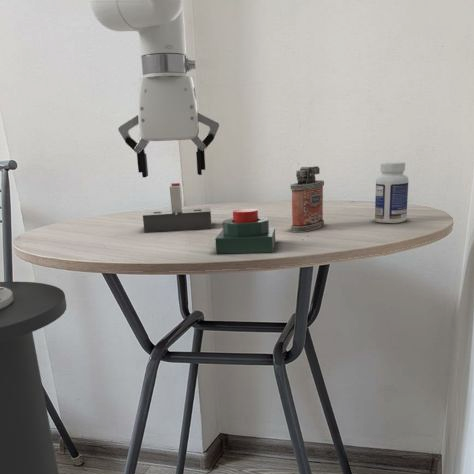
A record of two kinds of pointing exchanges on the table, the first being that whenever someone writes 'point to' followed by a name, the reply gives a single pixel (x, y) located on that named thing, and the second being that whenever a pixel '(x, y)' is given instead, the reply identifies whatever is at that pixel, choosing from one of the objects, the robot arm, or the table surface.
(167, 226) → the panel
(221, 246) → the green button base
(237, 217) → the stop button
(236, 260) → the table surface
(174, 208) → the light grey block
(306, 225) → the lighter
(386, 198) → the pill bottle
